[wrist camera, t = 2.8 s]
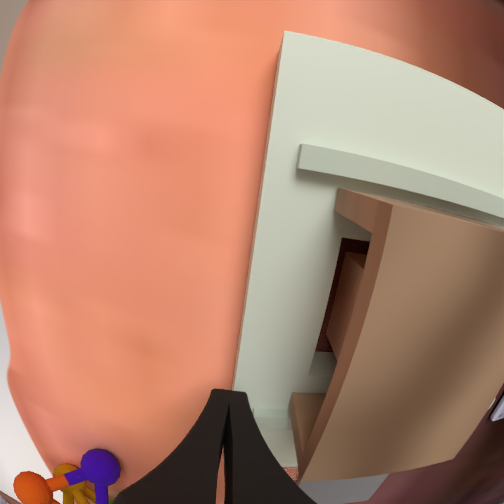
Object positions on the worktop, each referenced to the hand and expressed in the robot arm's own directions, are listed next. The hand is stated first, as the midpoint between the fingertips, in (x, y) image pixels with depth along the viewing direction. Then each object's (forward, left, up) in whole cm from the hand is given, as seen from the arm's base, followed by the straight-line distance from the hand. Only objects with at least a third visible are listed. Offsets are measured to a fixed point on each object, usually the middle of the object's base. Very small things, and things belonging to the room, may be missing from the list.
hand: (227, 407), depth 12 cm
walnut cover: (-6, -4, -1) cm, 8 cm away
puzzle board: (-8, -4, -3) cm, 10 cm away
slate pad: (-9, +11, -3) cm, 14 cm away
